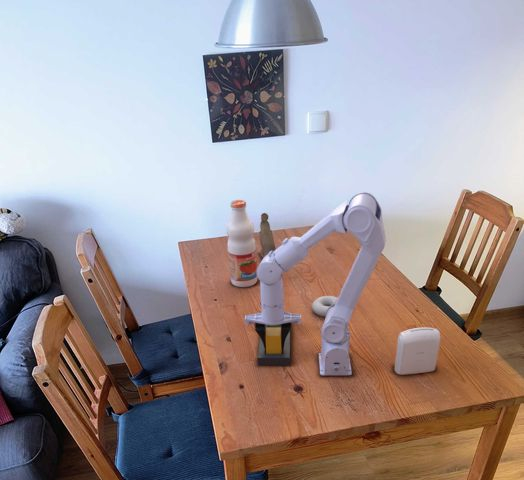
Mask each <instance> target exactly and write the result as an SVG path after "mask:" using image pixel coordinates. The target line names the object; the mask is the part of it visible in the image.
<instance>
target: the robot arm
mask: <svg viewBox="0 0 524 480" xmlns="http://www.w3.org/2000/svg"><path fill="white" fill-rule="evenodd" d="M382 211H383V210H382V207H381V206H380V203H379V202H378V200H377V198H376V197H375V196H374V195H373V194H372V193H371V192H370V193H369V192H367V191H360V192H358V193H355V194H354V195H353V196H352V197H351V198H350V200H349V199H347V200H345V201H343V202H342V203H340V204H339V205H337V207H335V208H334V209H333V210H332V211H330V212H329V213H328V214H327V215H325V216H324V217H323V218H322V219H321V220H319V221H318V222H317V223H316V224H315V225H313V226H312V227H311V228H310V229H309V230H308V231H306V232H305V233H304V234H303V235H302V236H290V238H289V237H286V238H284V239H283V241H282V242H281V245H280V246H278V247H277V248H276V250H275V251H274V252H273V251H270V252H269V253H268V255H266V256H265V257H264V258H262V260H261V262H260V263H259V265H257V277H258V278H257V280H259V282H260V283H259V292H260V307H261V308H260V309H261V312H258V313H252V314H245V315H244V326H250V325H254V330H255V332H256V333H257V335H258V336H259V339H260V338H261V340H262V342H263V345H264V348H266V325H268V326H269V325H279V324H281V348H284V343H285V340H286V337H287V335H288V333H289V332H290V333H291V329H292V324H296V325H302V314H301V313H292V312H287V311H286V312H285V301H284V299H285V298H284V282H283V274H284V273H287V272H289V271H290V270H291V269H293V268H294V267H296V266H297V265H298V264H299V263H301V262H303V261H304V260H305V259H306V258H308V256H309V250H310V249H311V248H313V247H314V246H316V245H317V244H318V243H320V242H322V241H323V240H325V239H326V238H327V237H329V236H330V235H332V234H333V233H339V234H343V235H346V234H347V232H349V233H350V234H351V235H352V236H353V237H354V238H356V239H357V240H358V243H359V245H361V247H360V248H359V251H358V253H357V255H356V257H355V259H354V262H353V263H352V266H351V268H350V271H349V273H348V274H347V277H346V279H345V280H344V283H343V285H342V288H341V290H340V292H339V294H338V296H337V297H338V298H337V299H336V301H335V303H334V304H333V305H331V306H330V307H329V308H328V309H327V313H326V317H324V321H323V324H322V327H321V329H320V333H321V345H320V352H319V353H318V363H319V375H320V376H352V374H353V372H352V366H351V360H350V359H351V358H350V345H351V331H350V329H349V324H350V321H351V318H352V315H353V312H354V309H355V308H356V307H357V306H356V305H357V304H358V302H359V300H360V297H361V295H362V294H363V291H364V290H365V287H366V286H367V284H368V281H369V280H370V277H371V275H372V273H373V271H374V270H375V267H376V266H377V263H378V261H379V260H380V257H381V255H382V253H383V251H384V249H385V245H386V241H387V240H386V238H387V237H386V233H385V227H384V221H383V212H382Z"/></svg>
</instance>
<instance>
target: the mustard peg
mask: <svg viewBox="0 0 524 480" xmlns="http://www.w3.org/2000/svg"><path fill="white" fill-rule="evenodd" d="M266 354H283V351H282V348H281V327H279V328H266Z"/></svg>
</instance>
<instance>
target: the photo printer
mask: <svg viewBox="0 0 524 480" xmlns="http://www.w3.org/2000/svg"><path fill="white" fill-rule="evenodd" d="M396 344H397V345H396V351H395V361H394V372H395V373H396V374H397V375H400V376H402V375H405V376H406V375H416V374H423V373H430V372H434V371H435V369H436V365H437V359H438V356H439V355H438V354H439V349H440V344H441V333H440V331H439V329H438V328H434V327H426V326H424V327H414V328H409V329H407V330H404V331H401V332H399V334H398V336H397V343H396Z"/></svg>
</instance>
